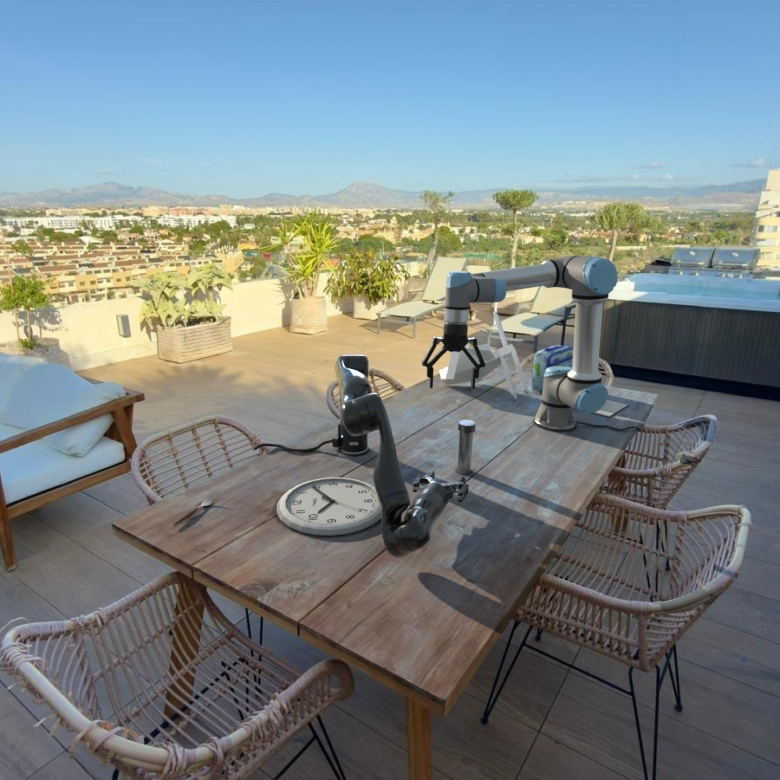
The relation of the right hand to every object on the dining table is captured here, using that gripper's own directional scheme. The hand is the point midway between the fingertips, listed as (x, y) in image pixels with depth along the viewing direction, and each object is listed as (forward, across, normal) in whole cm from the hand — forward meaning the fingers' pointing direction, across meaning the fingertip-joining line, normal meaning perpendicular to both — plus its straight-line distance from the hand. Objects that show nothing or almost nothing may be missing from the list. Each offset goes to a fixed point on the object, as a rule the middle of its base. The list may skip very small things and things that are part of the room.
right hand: (451, 387), depth 169 cm
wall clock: (+24, +36, +33) cm, 55 cm away
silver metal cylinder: (+24, -3, +12) cm, 27 cm away
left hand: (+17, +5, +29) cm, 34 cm away
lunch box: (+23, -61, -74) cm, 98 cm away
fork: (+24, +72, +36) cm, 85 cm away
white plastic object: (+23, -25, -69) cm, 77 cm away
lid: (+8, -3, +12) cm, 15 cm away
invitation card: (+23, -74, -49) cm, 92 cm away
